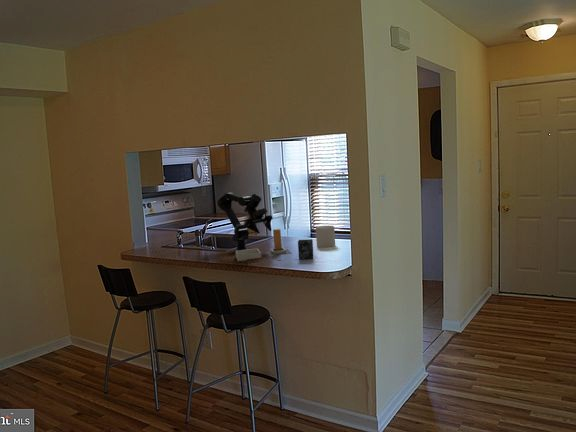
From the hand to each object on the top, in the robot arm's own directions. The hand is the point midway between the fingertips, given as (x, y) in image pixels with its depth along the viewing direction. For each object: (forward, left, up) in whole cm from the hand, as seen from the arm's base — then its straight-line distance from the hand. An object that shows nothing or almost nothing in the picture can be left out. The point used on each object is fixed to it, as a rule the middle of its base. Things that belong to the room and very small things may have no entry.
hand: (265, 232), depth 308 cm
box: (+25, +19, -14) cm, 34 cm away
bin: (+7, -12, -14) cm, 19 cm away
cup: (-5, +39, -14) cm, 42 cm away
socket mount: (+5, +6, -14) cm, 16 cm away
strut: (+5, +6, -13) cm, 15 cm away
